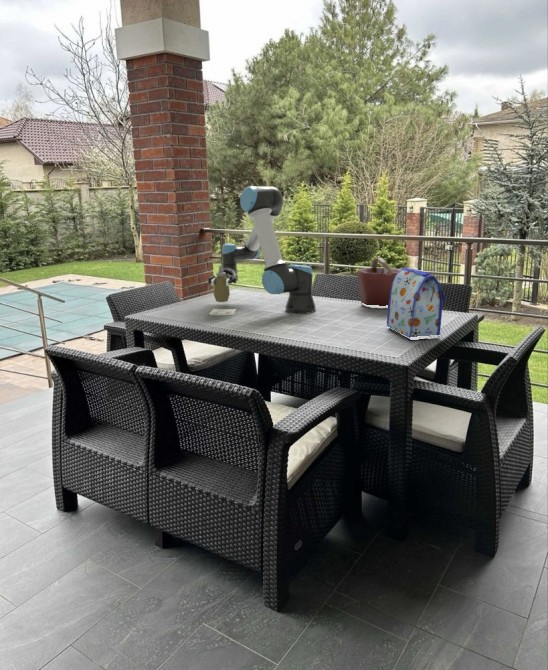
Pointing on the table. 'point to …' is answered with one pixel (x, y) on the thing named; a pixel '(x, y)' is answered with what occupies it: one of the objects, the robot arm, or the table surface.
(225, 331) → the table surface
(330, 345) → the table surface
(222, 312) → the card
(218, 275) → the squeeze bottle
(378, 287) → the bucket
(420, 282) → the lunch bag
